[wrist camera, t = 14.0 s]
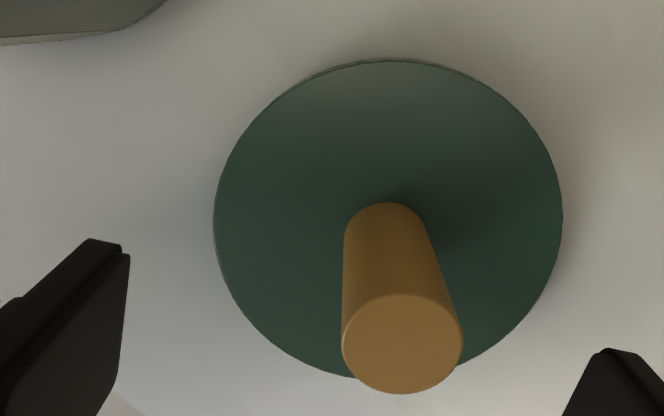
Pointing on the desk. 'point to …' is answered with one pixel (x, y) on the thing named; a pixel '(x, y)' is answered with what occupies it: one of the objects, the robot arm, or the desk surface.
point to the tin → (67, 18)
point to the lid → (388, 221)
